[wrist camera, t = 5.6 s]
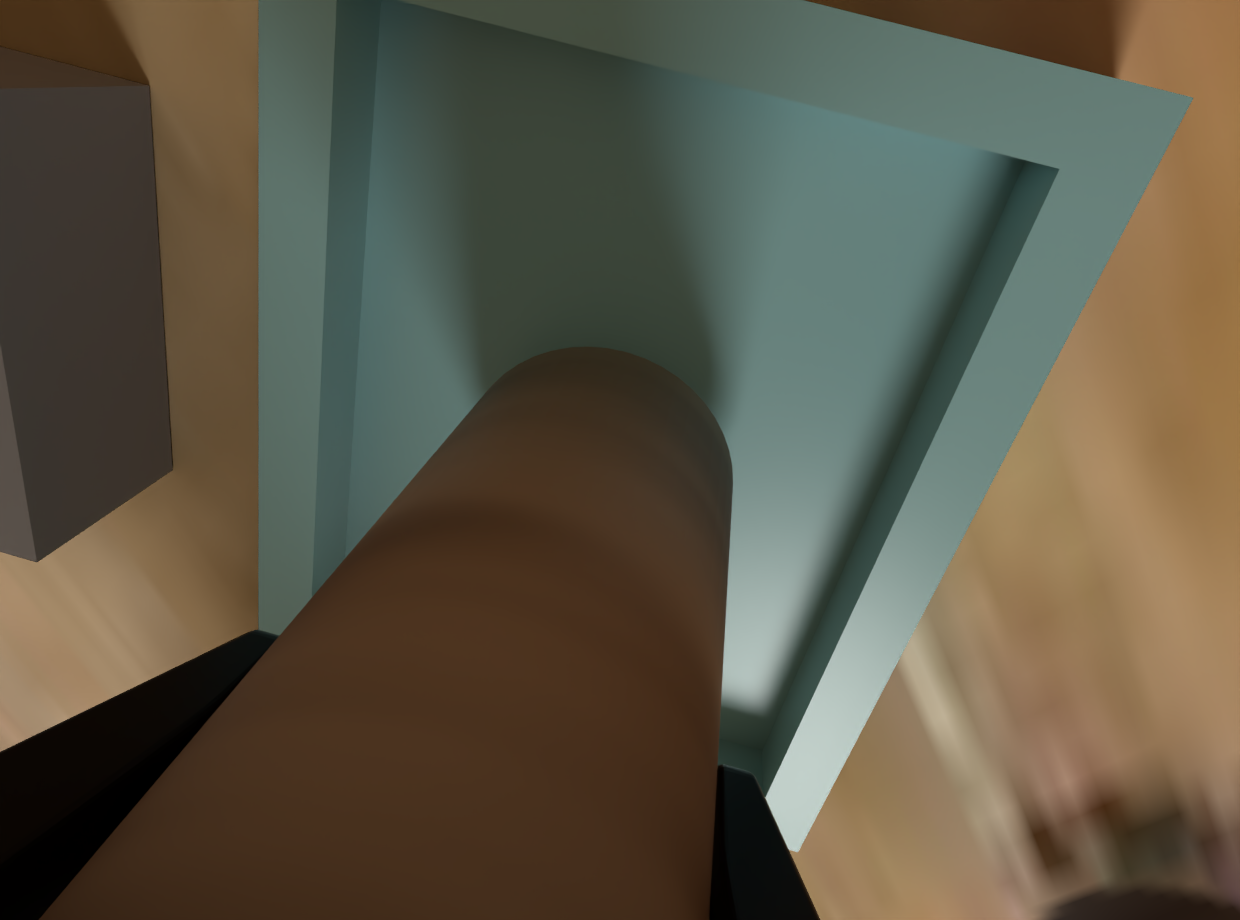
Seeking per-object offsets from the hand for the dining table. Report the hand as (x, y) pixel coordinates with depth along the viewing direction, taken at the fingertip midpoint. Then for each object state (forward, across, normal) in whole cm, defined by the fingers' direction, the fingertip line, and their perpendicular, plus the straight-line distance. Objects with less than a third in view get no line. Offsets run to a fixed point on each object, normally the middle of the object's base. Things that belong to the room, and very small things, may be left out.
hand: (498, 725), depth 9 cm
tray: (+8, 0, 0) cm, 9 cm away
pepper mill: (+6, 0, 0) cm, 6 cm away
